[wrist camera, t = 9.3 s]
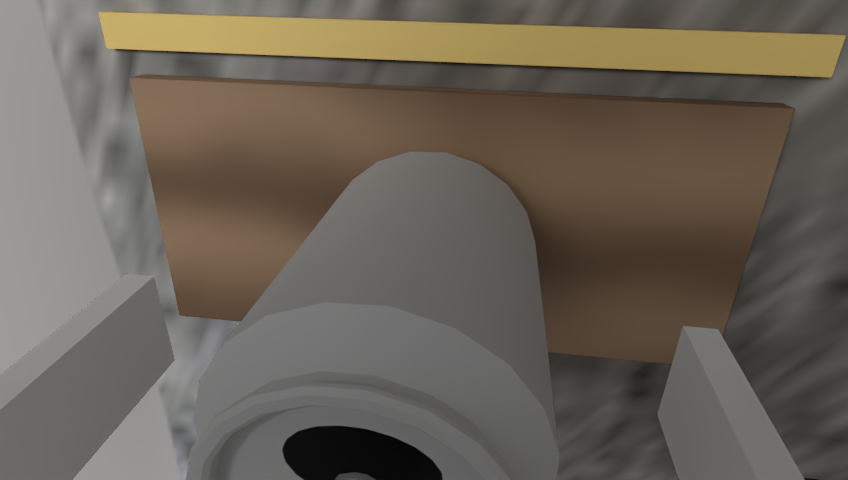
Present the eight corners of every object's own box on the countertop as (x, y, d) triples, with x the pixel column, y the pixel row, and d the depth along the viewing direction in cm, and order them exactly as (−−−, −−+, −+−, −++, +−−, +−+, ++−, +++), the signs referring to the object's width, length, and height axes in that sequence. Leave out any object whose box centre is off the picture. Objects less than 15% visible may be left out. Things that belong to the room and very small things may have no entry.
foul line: (104, 11, 19) (98, 12, 19) (840, 34, 16) (845, 35, 16) (112, 47, 19) (106, 48, 19) (826, 75, 17) (831, 77, 16)
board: (143, 74, 20) (129, 77, 19) (782, 103, 17) (795, 108, 16) (189, 305, 24) (179, 315, 23) (705, 355, 21) (712, 368, 21)
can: (557, 164, 18) (631, 424, 7) (510, 341, 21) (514, 697, 11) (342, 126, 19) (119, 319, 8) (329, 305, 22) (160, 612, 11)
